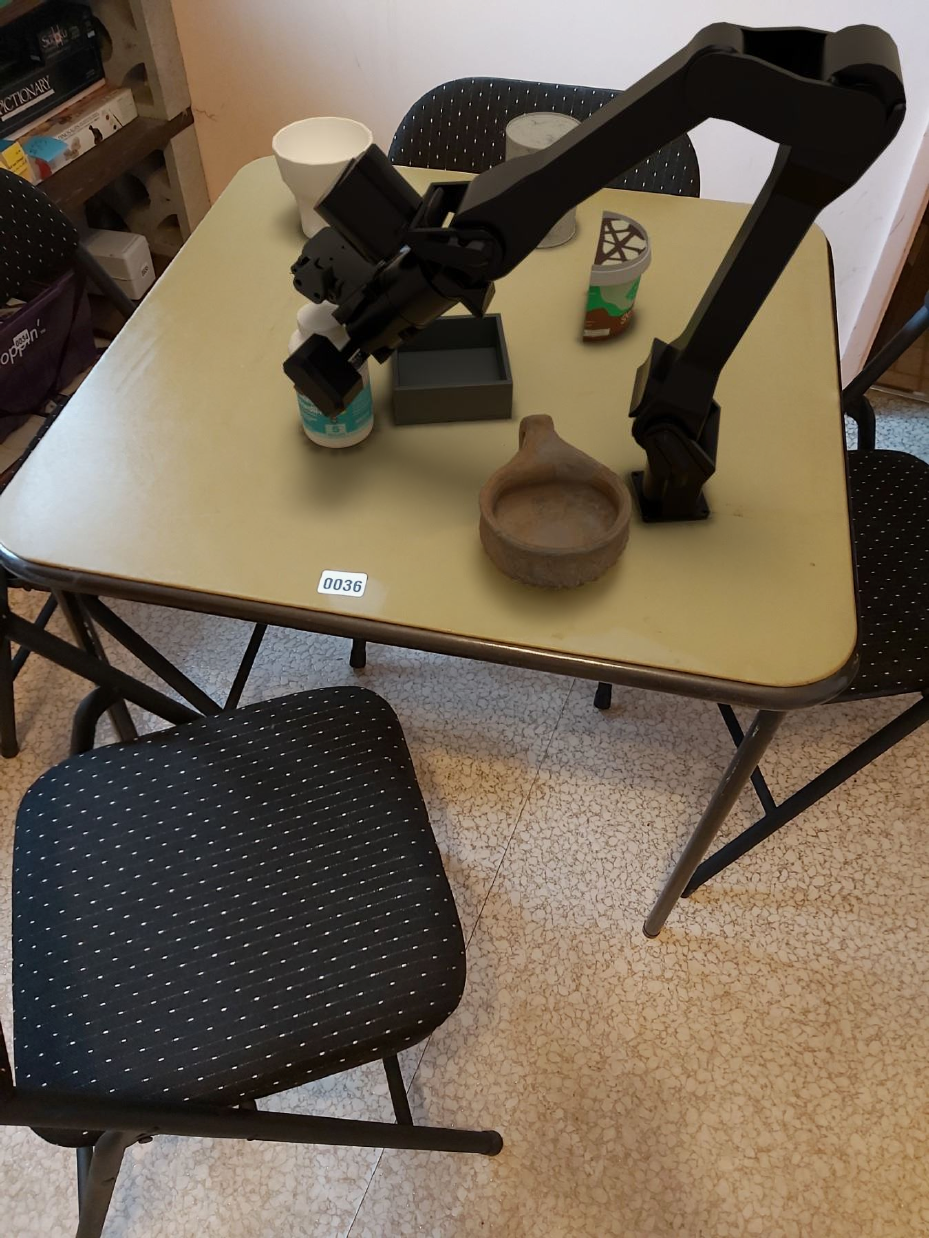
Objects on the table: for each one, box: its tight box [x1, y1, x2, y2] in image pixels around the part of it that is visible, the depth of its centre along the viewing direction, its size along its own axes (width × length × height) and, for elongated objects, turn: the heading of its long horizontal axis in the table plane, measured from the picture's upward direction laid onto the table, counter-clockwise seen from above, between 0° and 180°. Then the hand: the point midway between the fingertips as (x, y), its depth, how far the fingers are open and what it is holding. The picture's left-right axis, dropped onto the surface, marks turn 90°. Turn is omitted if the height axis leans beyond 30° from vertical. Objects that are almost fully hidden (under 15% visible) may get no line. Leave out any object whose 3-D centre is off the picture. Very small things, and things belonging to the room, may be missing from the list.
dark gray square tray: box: [391, 312, 514, 426], centre depth 90 cm, size 12×12×4 cm
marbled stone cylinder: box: [505, 111, 581, 249], centre depth 106 cm, size 10×10×12 cm
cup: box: [271, 116, 374, 239], centre depth 107 cm, size 12×12×11 cm
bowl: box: [478, 413, 633, 591], centre depth 75 cm, size 18×14×10 cm
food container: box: [582, 209, 652, 343], centre depth 95 cm, size 12×6×10 cm, turn 168°
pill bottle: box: [287, 300, 375, 449], centre depth 82 cm, size 8×7×14 cm
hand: (318, 367), depth 82 cm, fingers closed on pill bottle, 7 cm apart
